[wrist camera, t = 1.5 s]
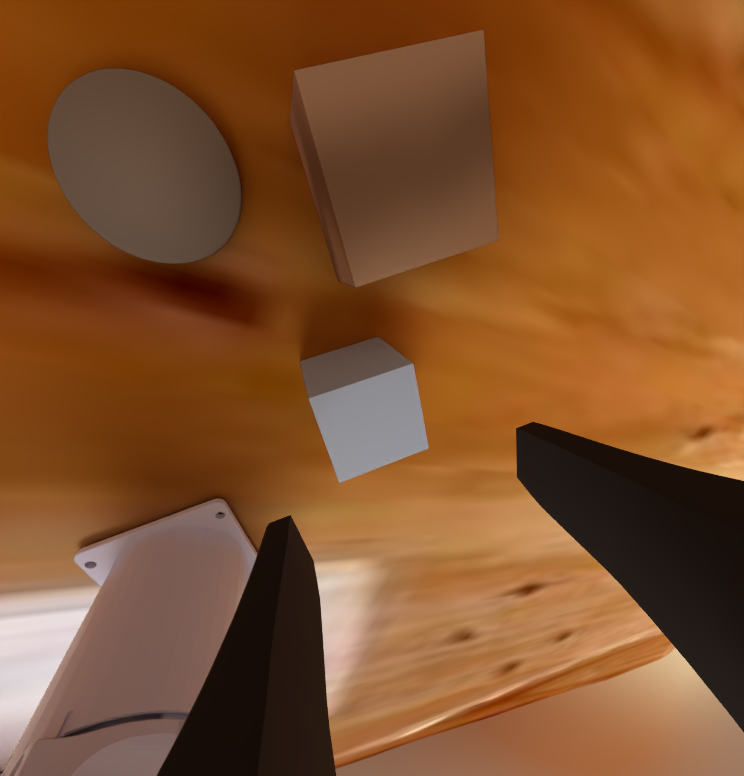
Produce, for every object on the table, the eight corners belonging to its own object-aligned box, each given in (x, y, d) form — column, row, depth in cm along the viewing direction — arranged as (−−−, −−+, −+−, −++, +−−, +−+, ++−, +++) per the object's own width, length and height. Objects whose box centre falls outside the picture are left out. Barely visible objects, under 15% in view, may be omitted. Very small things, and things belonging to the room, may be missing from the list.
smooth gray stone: (264, 244, 14) (263, 243, 13) (126, 278, 13) (113, 280, 12) (204, 73, 12) (197, 55, 11) (27, 101, 11) (0, 83, 10)
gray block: (393, 404, 19) (428, 448, 15) (324, 429, 18) (339, 482, 14) (377, 336, 17) (413, 363, 13) (299, 360, 16) (308, 398, 12)
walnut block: (451, 244, 17) (498, 240, 13) (337, 280, 16) (355, 287, 12) (429, 88, 14) (483, 29, 10) (289, 122, 13) (294, 70, 9)
